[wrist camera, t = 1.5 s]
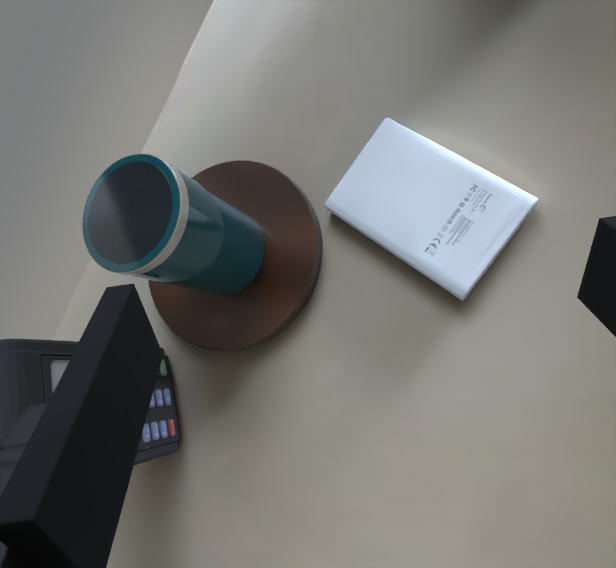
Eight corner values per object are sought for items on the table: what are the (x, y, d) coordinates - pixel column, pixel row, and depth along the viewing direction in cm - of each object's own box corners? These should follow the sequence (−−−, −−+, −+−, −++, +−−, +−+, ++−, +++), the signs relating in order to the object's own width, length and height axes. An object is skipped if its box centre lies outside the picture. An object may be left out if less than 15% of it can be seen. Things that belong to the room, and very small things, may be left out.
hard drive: (390, 125, 35) (537, 205, 30) (329, 211, 36) (462, 302, 31) (386, 115, 34) (539, 196, 29) (322, 205, 35) (461, 299, 30)
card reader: (189, 452, 37) (15, 506, 23) (150, 461, 38) (-38, 517, 24) (173, 344, 39) (6, 334, 26) (137, 355, 41) (-42, 351, 27)
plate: (182, 160, 42) (172, 154, 41) (341, 174, 36) (336, 167, 35) (139, 327, 41) (127, 326, 40) (296, 371, 35) (289, 372, 34)
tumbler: (199, 204, 39) (99, 148, 29) (275, 214, 36) (194, 156, 26) (178, 288, 38) (68, 262, 28) (253, 305, 36) (161, 283, 25)
